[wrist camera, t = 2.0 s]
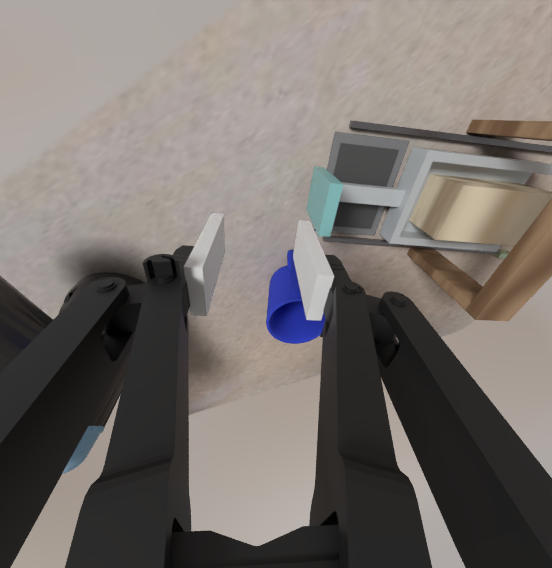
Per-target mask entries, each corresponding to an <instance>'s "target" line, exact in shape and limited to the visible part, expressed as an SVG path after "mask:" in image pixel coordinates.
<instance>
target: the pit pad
mask: <svg viewBox="0 0 552 568" xmlns="http://www.w3.org/2000/svg"><path fill="white" fill-rule="evenodd" d="M408 144H409V141H406V140H398V139H390V138H382V137H374V136H366V135H357V134H349V133H341V132H335V134H334V139H333V144H332V148H331V153H330V158H329V163H328V168H327V170H328V171H329V172H330V173H331V174H332V175H333V176H335V177H336V178H337V179H338V180H339V181H340V182H344V183H354V184H363V185H373V186H383V187H393V184H394V181H395V179H396V176H397V173H398V170H399V168H400V165H401V162H402V160H403V157H404V154H405V152H406V149H407V146H408ZM384 208H385V206H381V205H370V204H360V203H349V202H339V204H338V208H337V212H336V216H335V220H334V224H333V228H332V232H335V233H347V234H360V235H372V236H374V235H375V232H376V229H377V227H378V224H379V221H380V219H381V216H382V213H383V211H384ZM314 231H316V229H315V230H314Z"/></svg>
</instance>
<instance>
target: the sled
mask: <svg viewBox="0 0 552 568" xmlns="http://www.w3.org/2000/svg"><path fill="white" fill-rule="evenodd" d="M532 173H539V174H548V175H552V164H548V163H542V162H536V161H529V160H520V159H512V158H504V157H495V156H487V155H479V154H470V153H462V152H454V151H445V150H437V149H429V148H420V147H413V148H412V151H411V153H410V156H409V159H408V161H407V164H406V166H405V169H404V172H403V174H402V177H401V179H400V182H399V185H398V187H397V188H393V187H383V186H373V185H363V184H354V183H344V182H340V181H339V180H338V179H337V178H336V177H335V176H333V175H332V174H331V173H330V172H329V171H328V170H326V169H325V168H323V167H314V170H313V176H312V181H311V187H310V193H309V198H308V204H307V209H306V210H307V212H308V214H309V216H310V218H311V221H312V223H313V225H314V227H315V229H316V231H317V234H318V236H326V237H330V235H331V232H332V228H333V224H334V220H335V216H336V212H337V208H338V204H339V202H349V203H360V204H370V205H381V206H390V208H389V211H388V213H387V216H386V218H385V221H384V223H383V226H382V229H381V231H380V235H381V236H382V237H383V238H384V239H385V240H386V241H387V242H388V243H389V244H402V245H415V246H428V247H441V248H454V249H467V250H480V251H493V252H497V251H498V250H499V248H500V247H501V245H496V244H483V243H471V242H458V241H446V240H435V239H434V238H432V237H431V236H430V235H428V234H427V233H425V232H424V231H423V230H421V229H420V228H418V227H417V226H416V225H414V224H413V223H412V222H410V221H409V220H410V218H411V216H412V213H413V211H414V209H415V207H416V205H417V202H418V200H419V198H420V196H421V193H422V191H423V189H424V187H425V184H426V182H427V180H428V178H429V176H430V174H439V175H448V176H457V177H467V178H476V179H485V180H494V181H503V182H512V183H519V184H523V185H524V184H525V183H526V182H527V180H528V179H529V177H530V176H531V174H532Z"/></svg>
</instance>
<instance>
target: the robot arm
mask: <svg viewBox="0 0 552 568" xmlns="http://www.w3.org/2000/svg"><path fill="white" fill-rule="evenodd" d="M224 253H225V237H224V214H218V213H212V214H211V216H210V217H209V219H208V221H207V223H206V225H205V227H204V229H203V231H202V233H201V235H200V237H199V238H198V240H197V242H196V244H195V246H181V247H180V248H178V249H176V251H175V252H174V254H173V255H169V254H159V255H154V256H151V257H149V258H147V259H145V260H144V262H143V266H144V270H145V274H146V277H147V283H142V282H140V281H138V280H136V279H134V278H131V277H128V276H125V275H120V274H114V273H98V274H93V275H90V276H87V277H85V278H83V279H82V280H81V281H79V282H78V283H77V284H76V285H75V286H74V287H73V288H72V289H71V290H70V291H69V292H68V294H67V296H66V298H65V300H64V303H63V305H62V307H61V309H60V312H59V314H58V316H57V317H56V318H55V319H54V320H53V319H51V318H50V317H49V316H48V315H47V314H45V313H44V312H43V311H42V310H41V309H39V308H38V307H37V306H36V305H35V304H33V303H32V302H31V301H30V300H29V299H27V298H26V297H25V296H24V295H23V294H22V293H20V292H19V291H18V290H17V289H16V288H14V287H13V286H12V285H11V284H10V283H8V282H7V281H6V280H5V279H4V278H2V277H1V276H0V568H10V567H11V565H12V564H13V562H14V560H15V558H16V556H17V555H18V553H19V551H20V549H21V547H22V545H23V544H24V542H25V540H26V538H27V536H28V535H29V533H30V531H31V529H32V527H33V526H34V524H35V522H36V520H37V518H38V516H39V515H40V513H41V511H42V509H43V507H44V505H45V504H46V502H47V500H48V498H49V497H50V494H51V493H52V491H53V489H54V487H55V486H56V484H57V482H58V480H59V478H60V477H61V475H62V474H64V473H66V472H69V471H71V470H72V469H74V468H76V467H77V466H78V465H80V464H81V463H82V462H83V461H84V459H85V458H86V457H87V455H88V453H89V452H90V450H91V448H92V447H93V445H94V443H95V441H96V440H97V438H98V436H99V434H100V433H102V432H103V430H104V427H105V425H106V423H107V421H108V419H109V417H110V415H111V413H112V410H113V408H114V406H115V404H116V402H117V400H118V398H119V396H120V394H121V396H120V400H119V405H118V409H117V413H116V417H115V422H114V426H113V430H112V435H111V439H110V443H109V448H108V452H107V456H106V461H105V465H104V468H103V472H102V473H101V475H100V477H99V478H98V479H97V480H96V481H95V482H94V483H93V484H92V485H91V486H90V488H89V490H88V492H87V494H86V495H85V498H84V501H83V504H82V507H81V510H80V513H79V517H78V521H77V524H76V528H75V532H74V536H73V540H72V543H71V547H70V551H69V555H68V558H67V562H66V566H65V568H432V565H431V560H430V556H429V551H428V547H427V542H426V538H425V533H424V529H423V524H422V520H421V515H420V511H419V506H418V502H417V498H416V494H415V491H414V488H413V485H412V483H411V482H410V480H409V478H408V477H407V476H406V475H405V474H404V473H402V472H401V471H400V469H399V467H398V465H397V462H396V458H395V452H394V447H393V441H392V436H391V430H390V425H389V420H388V414H387V409H386V403H385V398H384V393H383V387H382V382H381V378H382V380H383V383H384V385H385V387H386V389H387V392H388V394H389V396H390V399H391V401H392V403H393V405H394V408H395V410H396V412H397V414H398V417H399V419H400V421H401V423H402V426H403V428H404V430H405V433H406V435H407V437H408V439H409V442H410V444H411V446H412V448H413V451H414V453H415V455H416V457H417V460H418V462H419V464H420V467H421V469H422V471H423V473H424V476H425V478H426V480H427V482H428V485H429V487H430V489H431V492H432V494H433V496H434V498H435V501H436V503H437V505H438V507H439V509H440V512H441V514H442V516H443V519H444V521H445V523H446V525H447V528H448V530H449V532H450V534H451V537H452V539H453V541H454V544H455V546H456V548H457V550H458V552H459V554H460V557H461V558H462V561H463V563H464V565H465V567H466V568H552V478H551V477H550V476H549V474H548V473H547V472H546V471H545V469H544V468H543V467H542V466H541V464H540V463H539V462H538V461H537V459H536V458H535V457H534V455H533V454H532V453H531V452H530V450H529V449H528V448H527V446H526V445H525V444H524V443H523V441H522V440H521V439H520V438H519V436H518V435H517V434H516V433H515V431H514V430H513V429H512V427H511V426H510V425H509V424H508V422H507V421H506V420H505V419H504V418H503V416H502V415H501V414H500V412H499V411H498V410H497V408H496V407H495V406H494V405H493V403H492V402H491V401H490V400H489V398H488V397H487V396H486V394H485V393H484V392H483V391H482V389H481V388H480V387H479V386H478V384H477V383H476V382H475V380H474V379H473V378H472V377H471V375H470V374H469V373H468V372H467V370H466V369H465V368H464V367H463V365H462V364H461V363H460V361H459V360H458V359H457V358H456V356H455V355H454V354H453V353H452V351H451V350H450V349H449V347H447V345H446V344H445V342H444V341H443V340H442V339H441V337H440V336H439V335H438V334H437V332H436V331H435V330H434V328H433V327H432V326H431V325H430V323H429V322H428V321H427V320H426V318H425V317H424V316H423V314H422V313H421V312H420V311H419V309H418V308H417V307H416V306H415V304H414V303H413V302H412V301H411V300H410V299H409V298H408V297H406V296H404V295H403V294H400V293H397V292H386V293H384V294H383V297H382V299H381V298H377V297H373V296H369V295H366V294H365V291H364V289H363V288H362V287H361V286H360V285H358V284H357V283H354V282H351V280H350V278H349V276H348V274H347V272H346V270H345V268H344V266H343V265H342V263H341V261H340V260H339V259H338V258H337V257H336V256H334V255H325V254H324V252H323V249H322V247H321V245H320V243H319V240H318V238H317V236H316V234H315V231H314V229H313V227H312V225H311V222H310V221H301V220H299V222H298V228H297V235H296V241H295V247H294V253H293V259H294V264H295V268H296V273H297V278H298V283H299V287H300V292H301V297H302V301H303V306H304V311H305V316H306V320H318V321H321V319H322V316H323V313H324V315H325V318H326V320H325V323H324V326H323V329H322V332H321V336H320V337H323V345H322V364H321V383H320V384H321V385H320V402H319V421H318V441H317V459H316V479H315V489H314V494H313V499H312V504H311V512H310V525H309V526H304V527H301V528H298V529H296V530H294V531H292V532H290V533H288V534H285V535H283V536H281V537H279V538H276V539H274V540H272V541H270V542H268V543H265V544H263V545H261V546H252V545H250V544H247V543H244V542H241V541H238V540H235V539H232V538H229V537H227V536H224V535H221V534H218V533H215V532H212V531H194V532H193V531H191V509H190V498H189V453H188V452H189V437H188V436H189V432H188V431H189V429H188V428H189V421H188V317H187V313H188V310H189V307H190V313H191V315H199V316H207V314H208V310H209V307H210V303H211V300H212V296H213V292H214V289H215V285H216V282H217V278H218V275H219V271H220V267H221V264H222V260H223V257H224ZM396 337H397V338H398V340H399V343H398V342H397V340H396Z"/></svg>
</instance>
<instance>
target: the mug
mask: <svg viewBox="0 0 552 568" xmlns="http://www.w3.org/2000/svg"><path fill="white" fill-rule="evenodd" d="M293 253H294V250H289V251H288V254H287V260H288V266H284V267H282V268H280V269H278V270H277V271H276V272H275V273H274V274H273V276H272V278H271V281H270V287H269V298H268V309H267V321H266V324H267V329H268V331H269V332H270V334H271V335H272V336H273V337H274V338H276V339H278V340H280V341H282V342H285V343H292V344H297V343H304V342H308V341H311V340H313V339H315V338H317V337H318V336H319V335H321V332H322V329H323V326H324V323H325V320H326V318H325V315H324V313H323V316H322V319H321V321H318V320H306V316H305V311H304V306H303V301H302V297H301V292H300V287H299V283H298V278H297V273H296V268H295V264H294V259H293Z"/></svg>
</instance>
